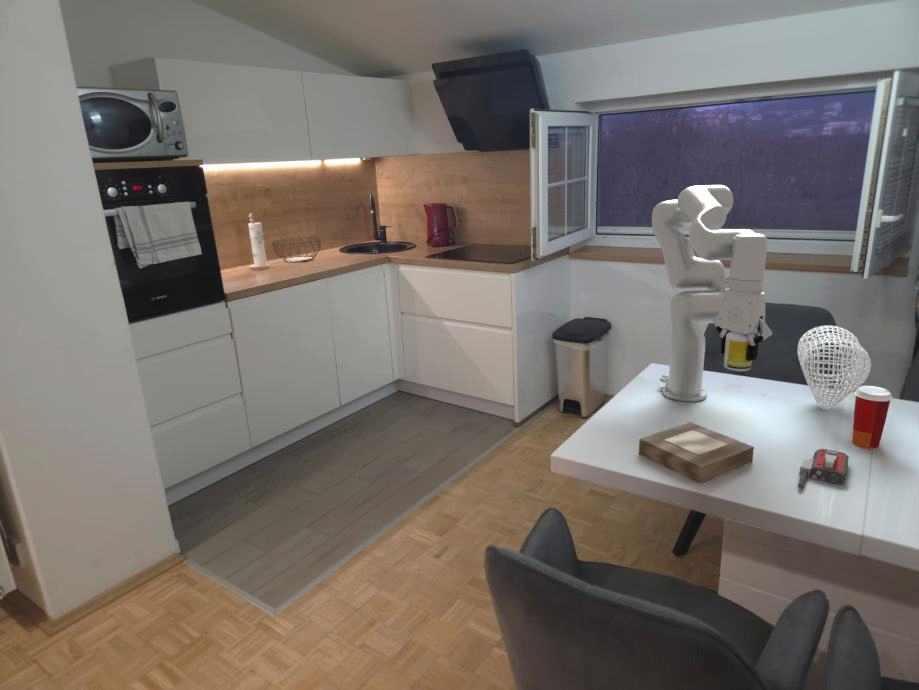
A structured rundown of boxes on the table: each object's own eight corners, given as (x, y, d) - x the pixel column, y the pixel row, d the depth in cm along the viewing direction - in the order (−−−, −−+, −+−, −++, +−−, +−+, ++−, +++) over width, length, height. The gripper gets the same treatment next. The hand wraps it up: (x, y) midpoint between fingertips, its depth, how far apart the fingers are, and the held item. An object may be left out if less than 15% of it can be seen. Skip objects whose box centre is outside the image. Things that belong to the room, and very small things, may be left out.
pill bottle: (753, 372, 154) (759, 326, 151) (725, 371, 156) (730, 326, 152) (747, 364, 161) (752, 320, 157) (720, 363, 162) (725, 319, 158)
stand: (638, 453, 153) (639, 437, 152) (689, 436, 162) (690, 421, 161) (700, 483, 138) (701, 466, 137) (752, 462, 147) (754, 446, 146)
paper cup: (877, 439, 157) (886, 386, 153) (888, 452, 150) (898, 397, 146) (842, 436, 159) (850, 384, 155) (851, 449, 152) (860, 394, 148)
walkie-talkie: (805, 455, 151) (793, 491, 135) (807, 438, 149) (795, 472, 134) (848, 464, 146) (841, 502, 130) (851, 446, 145) (844, 482, 129)
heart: (789, 390, 192) (797, 318, 186) (848, 395, 186) (859, 322, 180) (798, 424, 167) (809, 344, 161) (867, 432, 161) (880, 348, 155)
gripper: (705, 282, 157) (699, 350, 163) (769, 293, 143) (760, 368, 148) (724, 278, 161) (718, 345, 166) (788, 289, 147) (779, 362, 152)
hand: (738, 355), depth 157 cm, fingers closed on pill bottle, 6 cm apart
